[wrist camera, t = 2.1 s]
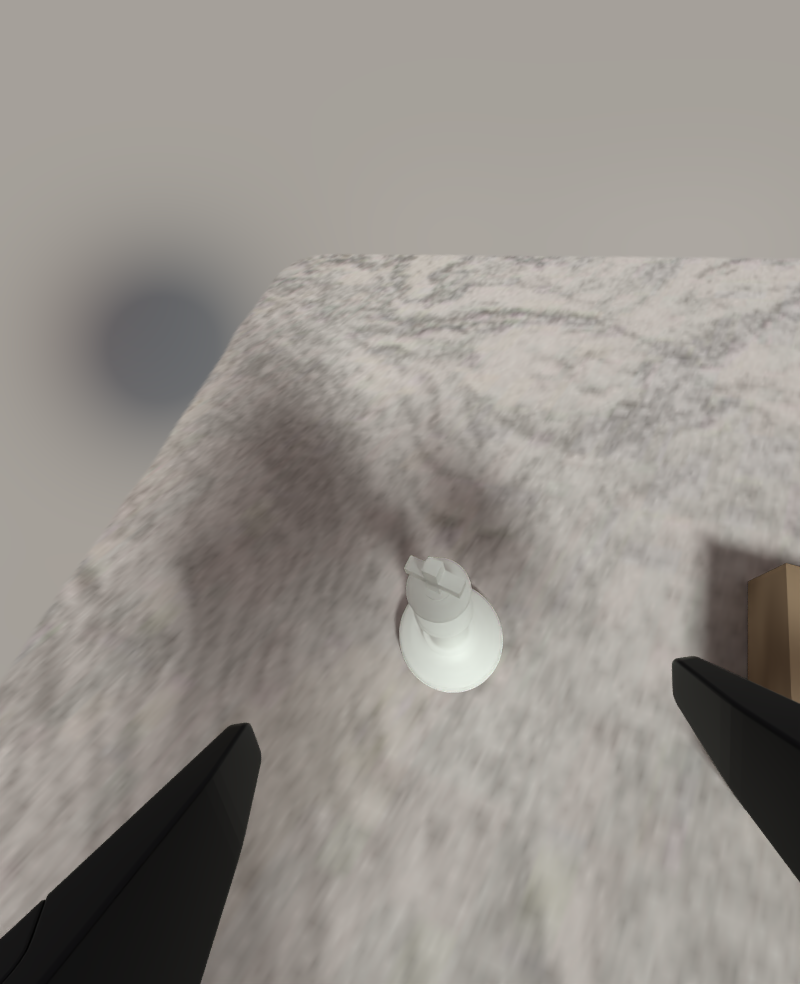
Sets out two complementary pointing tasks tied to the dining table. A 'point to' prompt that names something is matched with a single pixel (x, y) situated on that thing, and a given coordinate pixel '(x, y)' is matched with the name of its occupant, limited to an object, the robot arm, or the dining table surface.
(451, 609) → the chess piece
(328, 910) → the dining table surface
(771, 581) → the socket frame
